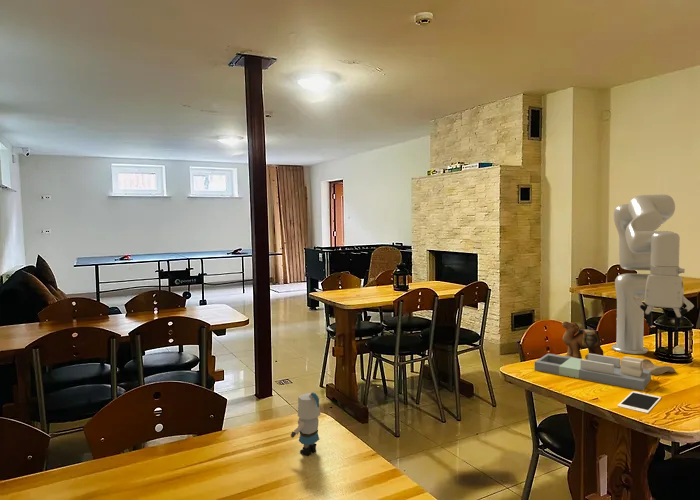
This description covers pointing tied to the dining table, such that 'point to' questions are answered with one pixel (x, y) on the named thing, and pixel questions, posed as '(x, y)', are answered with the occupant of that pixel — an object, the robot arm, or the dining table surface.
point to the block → (631, 366)
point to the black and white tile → (639, 402)
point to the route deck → (592, 370)
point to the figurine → (580, 340)
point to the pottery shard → (656, 368)
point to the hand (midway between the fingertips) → (663, 326)
